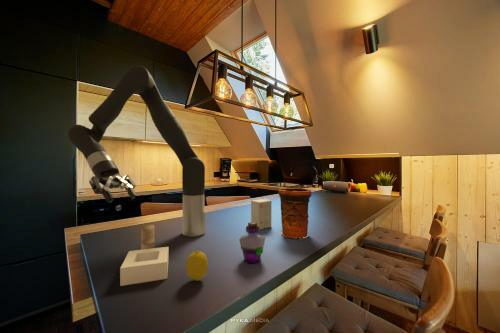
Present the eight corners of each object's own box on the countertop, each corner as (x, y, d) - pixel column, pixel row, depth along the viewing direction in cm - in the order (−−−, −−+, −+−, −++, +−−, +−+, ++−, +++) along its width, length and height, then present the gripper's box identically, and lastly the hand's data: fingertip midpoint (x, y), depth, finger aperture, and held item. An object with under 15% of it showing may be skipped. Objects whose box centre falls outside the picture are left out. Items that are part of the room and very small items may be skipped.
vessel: (273, 237, 90) (274, 189, 90) (281, 228, 103) (282, 187, 104) (308, 242, 85) (309, 191, 85) (312, 232, 98) (313, 188, 98)
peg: (155, 253, 73) (155, 224, 73) (154, 258, 70) (154, 227, 69) (142, 254, 72) (142, 225, 72) (140, 259, 68) (140, 228, 68)
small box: (263, 224, 109) (263, 198, 109) (271, 227, 104) (271, 200, 104) (250, 226, 105) (250, 200, 104) (258, 230, 99) (259, 202, 99)
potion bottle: (257, 269, 63) (257, 228, 63) (233, 261, 68) (233, 223, 67) (270, 258, 70) (270, 221, 70) (248, 252, 75) (248, 217, 75)
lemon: (188, 275, 59) (188, 246, 59) (208, 274, 60) (209, 246, 59) (184, 287, 54) (184, 255, 53) (206, 286, 54) (206, 254, 54)
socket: (168, 260, 68) (168, 246, 68) (167, 278, 57) (167, 261, 57) (129, 265, 64) (129, 251, 64) (120, 285, 54) (120, 268, 54)
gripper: (86, 158, 73) (108, 195, 68) (125, 159, 86) (145, 190, 82) (77, 173, 75) (97, 209, 71) (116, 172, 88) (135, 202, 84)
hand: (123, 199), depth 76 cm, fingers open, 8 cm apart
